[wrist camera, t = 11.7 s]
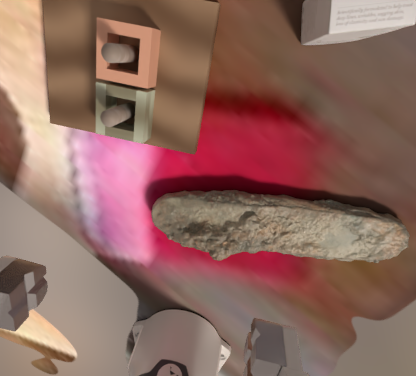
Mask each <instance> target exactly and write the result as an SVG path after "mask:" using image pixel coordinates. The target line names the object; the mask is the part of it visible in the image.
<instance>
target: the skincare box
mask: <svg viewBox="0 0 416 376" xmlns="http://www.w3.org/2000/svg"><path fill="white" fill-rule="evenodd" d="M415 23H416V0H305V1H304V2H303V5H302V26H301V44H302V45H322V44H333V43H342V42H350V41H357V40H360V39H364V38H368V37H372V36H376V35H379V34H383V33H387V32H391V31H394V30H397V29H400V28H404V27H407V26H412V25H414V24H415Z"/></svg>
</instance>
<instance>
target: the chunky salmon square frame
mask: <svg viewBox="0 0 416 376" xmlns="http://www.w3.org/2000/svg"><path fill="white" fill-rule="evenodd" d="M120 35H123V36H129V37H134V38H139V39H140V50H139V65H138V72H135V71H131V70H126V69H121V68H118V63H109V62H107V61H105V60H104V59H103V57H102V54H101V49H102V46H103V45H104V44H105V43H117V44H119V36H120ZM160 36H161V30H157V29H154V28H150V27H145V26H139V25H134V24H129V23H124V22H119V21H114V20H108V19H103V18H98V17H97V41H96V78H98V79H103V80H108V81H113V82H118V83H123V84H127V85H132V86H137V87H142V88H147V89H148V88H152V87H155V86H156V79H157V68H158V58H159V47H160Z"/></svg>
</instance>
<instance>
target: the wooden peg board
mask: <svg viewBox="0 0 416 376" xmlns="http://www.w3.org/2000/svg"><path fill="white" fill-rule="evenodd" d="M220 6H221V5H220V4H219V3H216V2H211V1H205V0H43V15H44V31H45V46H46V62H47V78H48V94H49V110H50V123H52V124H57V125H62V126H66V127H71V128H75V129H80V130H85V131H89V132H94V133H96V134H101V135H105V136H110V137H115V138H119V139H124V140H128V141H133V142H138V143H142V144H143V143H144V144H149V145H153V146H158V147H163V148H167V149H172V150H176V151H181V152H186V153H190V154H195V153H196V151H197V145H198V139H199V133H200V127H201V121H202V115H203V109H204V103H205V97H206V91H207V85H208V78H209V72H210V66H211V60H212V54H213V48H214V42H215V36H216V30H217V24H218V18H219V12H220ZM97 17H98V18H103V19H108V20H114V21H119V22H124V23H129V24H134V25H139V26H145V27H150V28H154V29H157V30H161V36H160V47H159V58H158V68H157V79H156V86H155V87H152V88H148V89H147V88H142V87H137V86H132V85H127V84H123V83H118V82H113V81H108V80H103V79H98V78H96V41H97ZM139 50H140V39H139V38H134V37H129V36H123V35H120V36H119V44H117V43H105V44H104V45H103V46H102V49H101V54H102V57H103V59H104V60H105V61H107V62H109V63H118V68H121V69H126V70H131V71H135V72H138V65H139Z"/></svg>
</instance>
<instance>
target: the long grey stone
mask: <svg viewBox="0 0 416 376" xmlns="http://www.w3.org/2000/svg"><path fill="white" fill-rule="evenodd" d="M152 220H153V222H154V225H155V226H156V227H158V228H159V229H160V230H161V231H163V232H164V233H165V234H166V235H167V238H168V239H171V240H173V241H175V242H178V243H180V244H181V246H183V247H189V248H190V247H193V248H196V249H198V250H201V251H204V252H209V253H210V256H212V258H213V259H214V260H218V261H220V260H223V259H225V258H227V257H228V256H230V255H231V254H236V253H240V252H245V251H246V252H249V253H257V252H258V251H261V250H262V251H268V252H269V251H272V252H275V251H276V252H280V253H282V254H291V255H295V256H300V257H303V256H306V257H314V258H316V259H322V258H323V259H327V260H331V259H337V260H339V261H348V262H349V261H353V260H365V261H367V262H374V263H379V261H380V260H384V259H390V258H392V257H394V256H397V255H398V254H399V253H400V252H401V251H402V250H404V249H405V248H407V247H408V240H409V236H410V235H409V233H408V232H407V230H406V227H405V226H404V225H403V224H402V222H401V220H399V219H397V218H395V217H394V216H392V215H390V214H388V213H386V214H379V213H376V212H374V211H372V210H371V209H369V208H364V207H353V206H351V205H350V204H342V203H340V202H337V201H334V200H324V199H322V200H318V201H317V200H314V201H308V200H304V199H303V200H302V199H297V198H294V197H290V196H288V195H284V194H283V195H278V196H275V195H269V194H267V195H263V194H261V195H259V194H250V193H247V192H244V191H237V190H224V191H216V190H212V191H209V192H203V191H190V192H188V191H185V190H184V191H180V192H175V193H167V194H165V195H163V196H162V197H160V198H158V199H157V200H156V202H155V203H154V205H153V207H152Z"/></svg>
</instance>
